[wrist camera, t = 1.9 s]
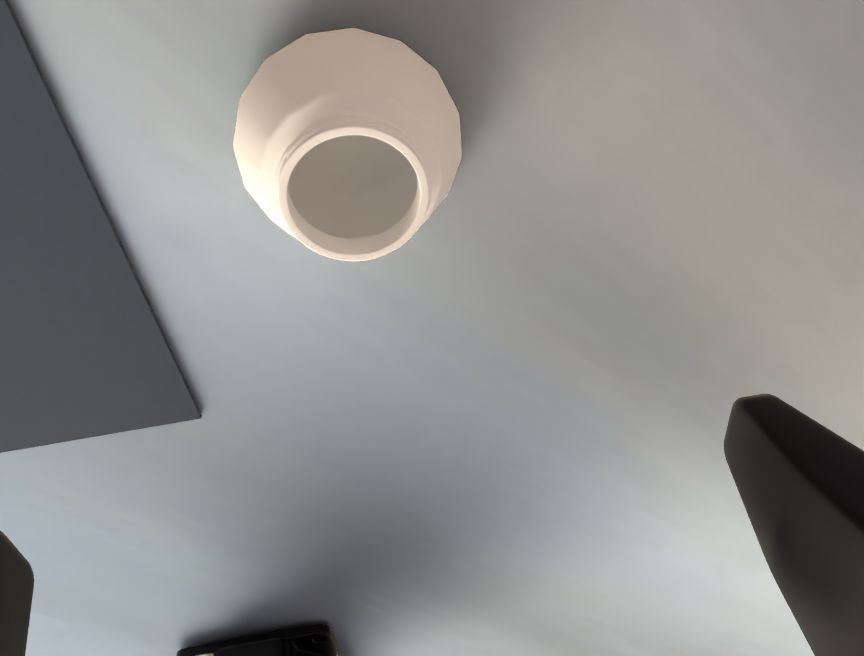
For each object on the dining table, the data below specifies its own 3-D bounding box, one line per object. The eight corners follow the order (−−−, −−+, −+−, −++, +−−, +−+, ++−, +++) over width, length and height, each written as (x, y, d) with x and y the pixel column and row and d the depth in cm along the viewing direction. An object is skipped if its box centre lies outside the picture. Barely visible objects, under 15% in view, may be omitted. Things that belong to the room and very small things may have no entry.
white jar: (498, 116, 16) (319, -30, 14) (528, 173, 14) (321, 12, 12) (371, 262, 19) (196, 158, 16) (378, 332, 16) (177, 223, 14)
